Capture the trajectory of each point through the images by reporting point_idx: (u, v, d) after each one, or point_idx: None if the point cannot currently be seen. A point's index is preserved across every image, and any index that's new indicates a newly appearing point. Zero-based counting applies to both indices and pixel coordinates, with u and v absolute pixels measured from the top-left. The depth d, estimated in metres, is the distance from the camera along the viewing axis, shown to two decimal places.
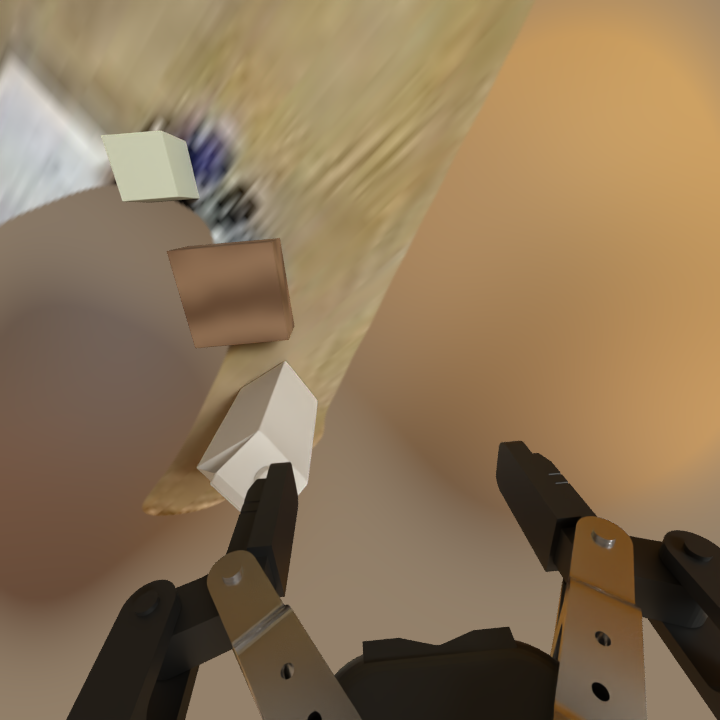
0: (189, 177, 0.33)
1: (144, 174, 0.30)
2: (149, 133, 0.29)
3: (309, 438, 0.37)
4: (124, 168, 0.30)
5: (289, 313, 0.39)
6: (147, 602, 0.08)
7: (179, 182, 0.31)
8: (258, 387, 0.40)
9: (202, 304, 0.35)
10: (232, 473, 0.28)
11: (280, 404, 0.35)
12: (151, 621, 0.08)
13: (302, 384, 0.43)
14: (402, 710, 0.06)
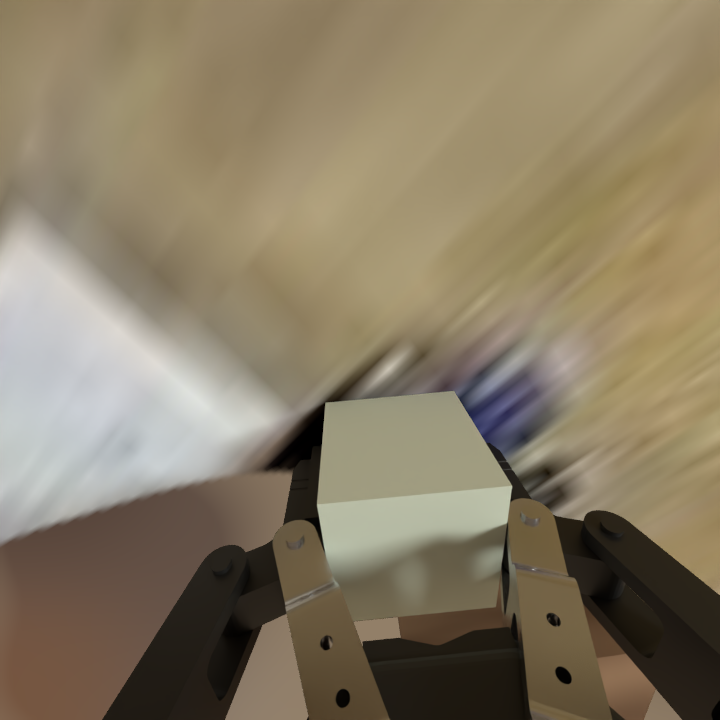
0: None
1: (419, 574, 0.10)
2: (472, 493, 0.09)
3: None
4: (364, 566, 0.10)
5: None
6: (222, 563, 0.09)
7: None
8: None
9: None
10: None
11: None
12: (228, 579, 0.08)
13: None
14: (402, 710, 0.06)
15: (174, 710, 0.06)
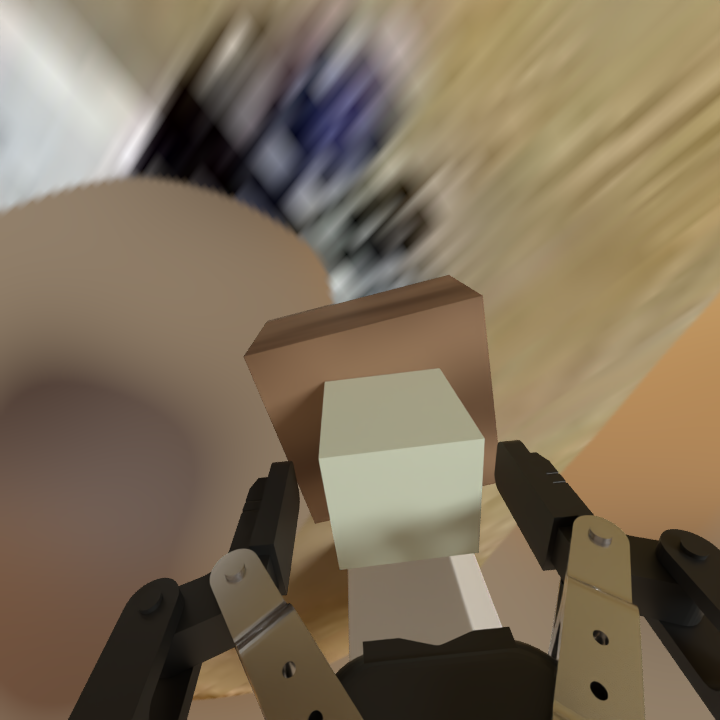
0: None
1: (409, 522, 0.11)
2: (451, 446, 0.10)
3: None
4: (361, 515, 0.11)
5: None
6: (150, 600, 0.08)
7: None
8: (401, 566, 0.21)
9: None
10: None
11: None
12: (154, 619, 0.08)
13: None
14: (402, 710, 0.06)
15: None
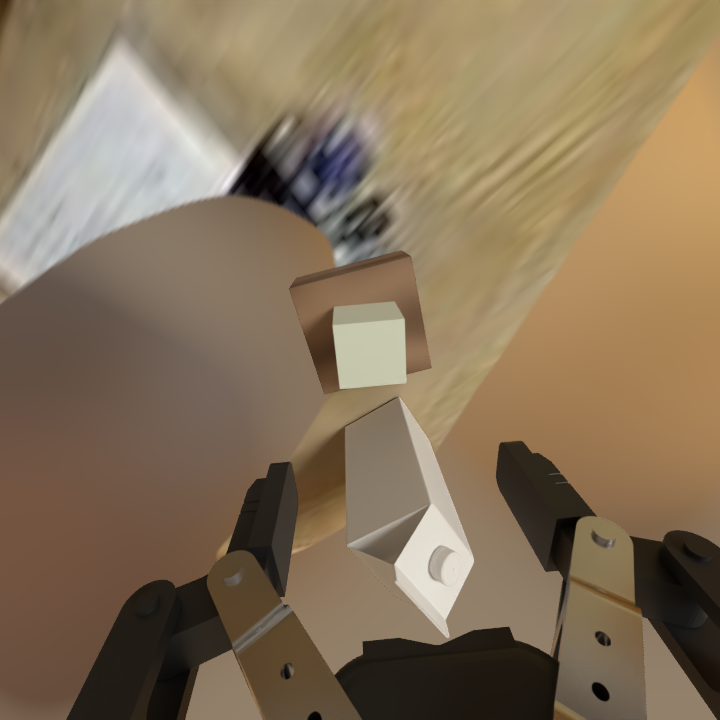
0: None
1: (373, 362, 0.25)
2: (390, 321, 0.24)
3: (448, 494, 0.31)
4: (350, 357, 0.25)
5: None
6: (147, 602, 0.08)
7: None
8: (377, 430, 0.34)
9: (331, 343, 0.29)
10: (409, 561, 0.22)
11: (422, 458, 0.29)
12: (151, 621, 0.08)
13: (416, 422, 0.38)
14: (402, 710, 0.06)
15: None
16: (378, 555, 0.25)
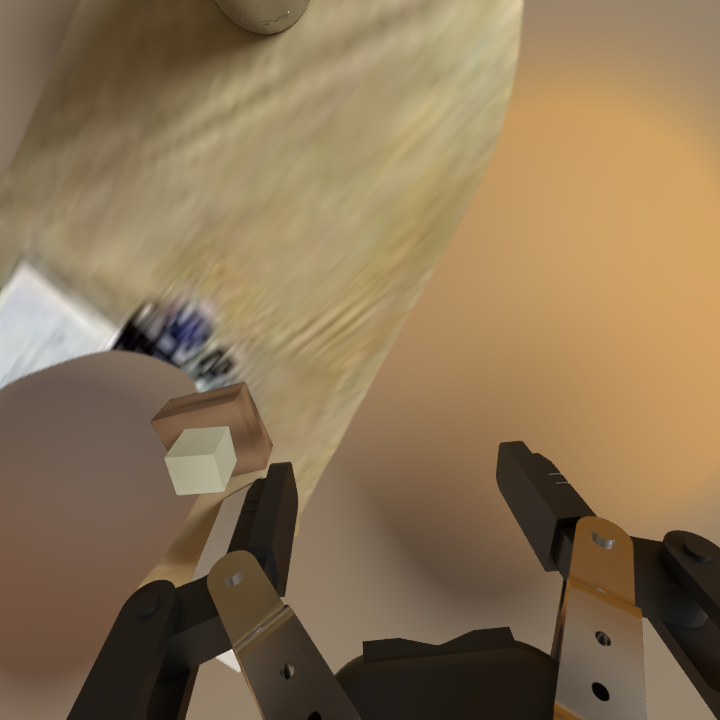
0: (230, 456, 0.40)
1: (197, 479, 0.36)
2: (203, 456, 0.35)
3: None
4: (180, 476, 0.36)
5: (265, 440, 0.44)
6: (147, 602, 0.08)
7: (224, 476, 0.37)
8: (237, 508, 0.45)
9: None
10: None
11: None
12: (151, 621, 0.08)
13: None
14: (402, 710, 0.06)
15: None
16: None
